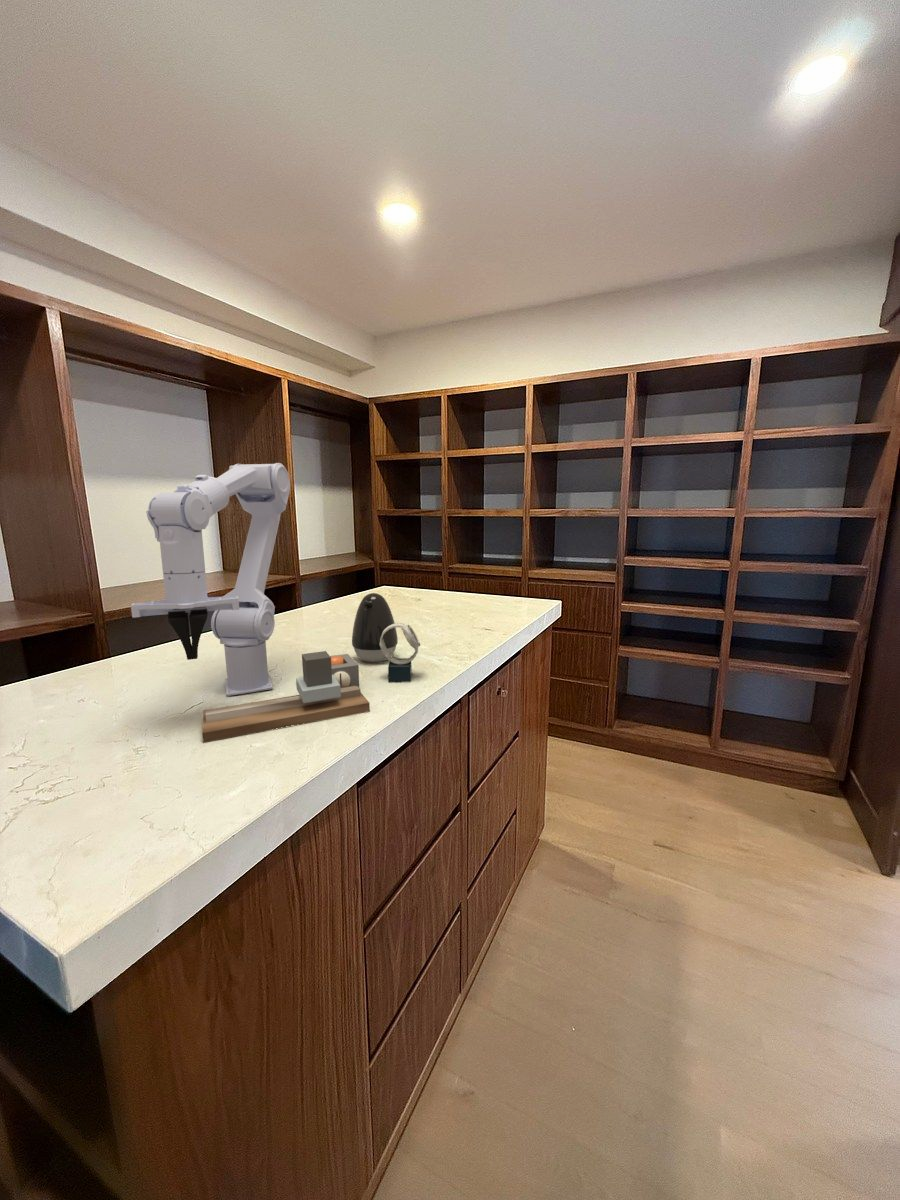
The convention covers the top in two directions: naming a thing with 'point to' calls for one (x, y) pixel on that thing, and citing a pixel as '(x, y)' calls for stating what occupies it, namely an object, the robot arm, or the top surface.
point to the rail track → (278, 714)
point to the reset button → (336, 660)
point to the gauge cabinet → (346, 672)
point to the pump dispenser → (373, 629)
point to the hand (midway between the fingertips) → (192, 657)
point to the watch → (401, 666)
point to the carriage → (317, 678)
